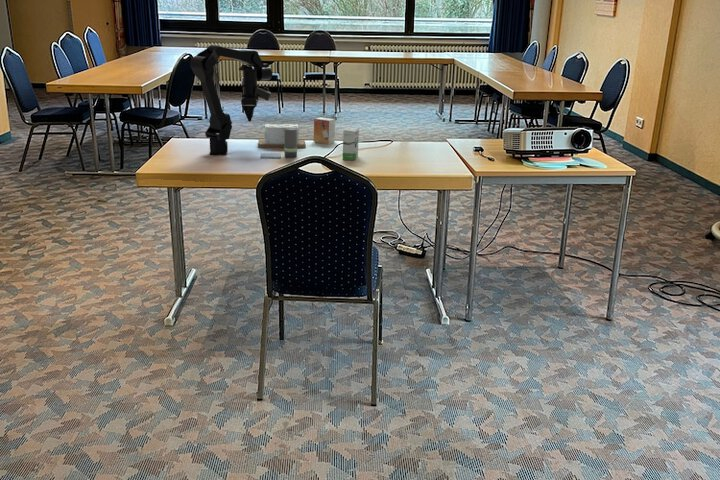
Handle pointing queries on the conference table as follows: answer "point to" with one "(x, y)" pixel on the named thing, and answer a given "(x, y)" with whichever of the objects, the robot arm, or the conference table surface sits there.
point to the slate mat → (270, 155)
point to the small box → (324, 130)
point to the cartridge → (290, 142)
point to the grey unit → (278, 136)
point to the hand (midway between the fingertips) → (250, 119)
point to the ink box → (350, 143)
